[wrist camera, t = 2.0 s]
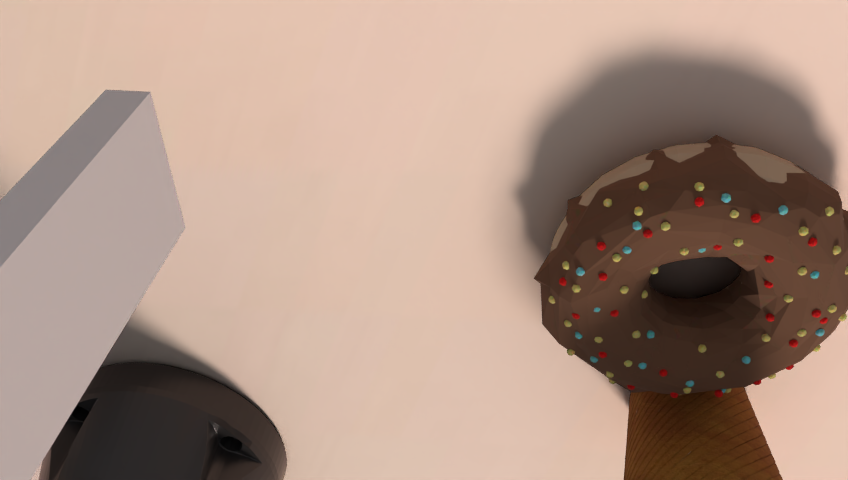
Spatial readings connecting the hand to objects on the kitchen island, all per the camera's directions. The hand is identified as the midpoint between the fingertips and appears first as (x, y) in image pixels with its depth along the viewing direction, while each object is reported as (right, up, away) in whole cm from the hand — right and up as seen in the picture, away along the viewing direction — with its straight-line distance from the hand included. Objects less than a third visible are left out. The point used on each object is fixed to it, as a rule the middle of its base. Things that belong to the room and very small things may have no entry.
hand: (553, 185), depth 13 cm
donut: (+11, -1, +26) cm, 28 cm away
